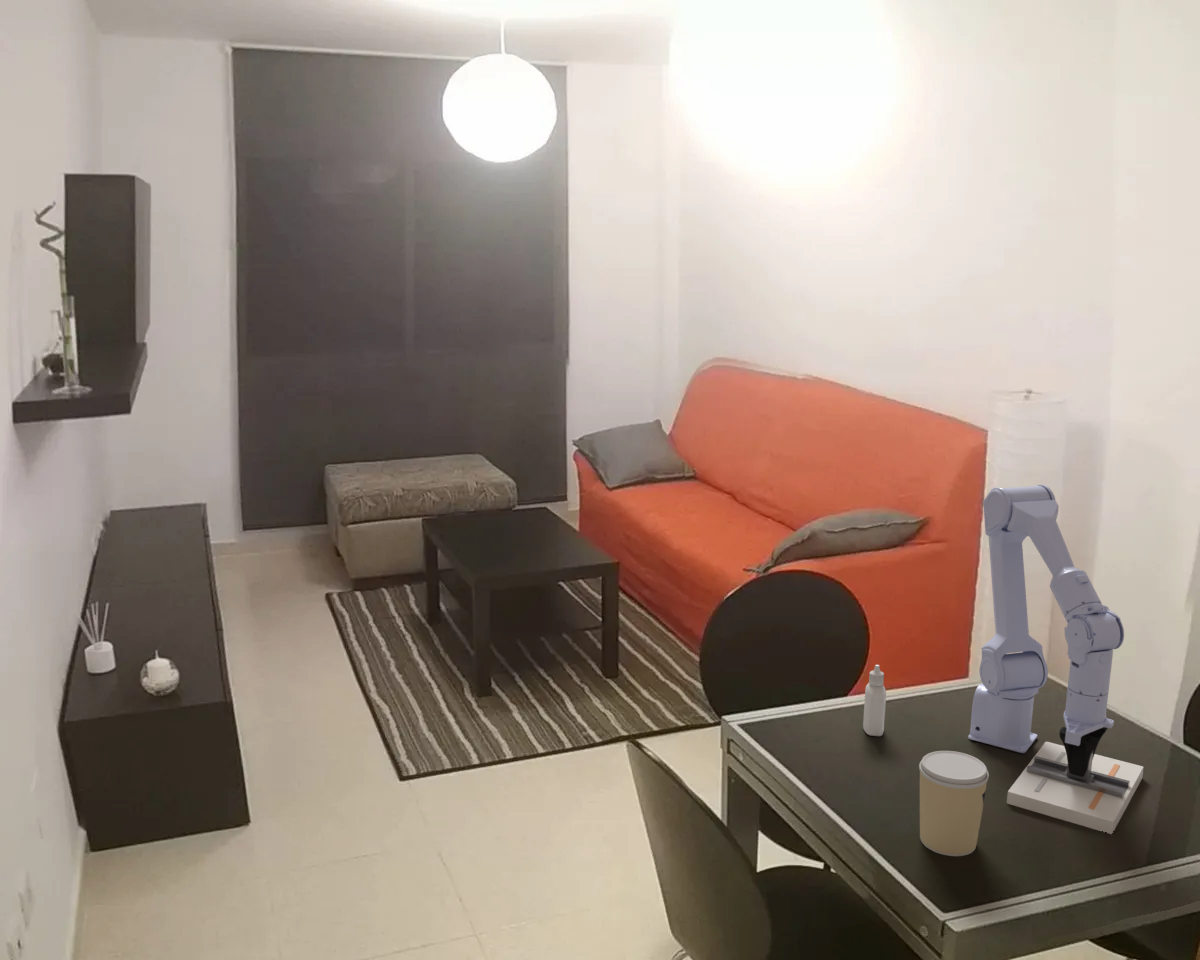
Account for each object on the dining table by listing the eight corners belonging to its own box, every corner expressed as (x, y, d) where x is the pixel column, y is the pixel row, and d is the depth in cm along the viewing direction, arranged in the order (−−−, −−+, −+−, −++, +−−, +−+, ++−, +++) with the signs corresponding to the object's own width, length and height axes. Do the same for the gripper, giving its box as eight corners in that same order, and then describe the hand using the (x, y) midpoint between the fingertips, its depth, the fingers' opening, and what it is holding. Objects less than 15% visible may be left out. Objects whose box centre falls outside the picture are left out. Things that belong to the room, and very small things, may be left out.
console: (1006, 803, 171) (1008, 786, 171) (1044, 752, 188) (1046, 736, 187) (1112, 834, 163) (1114, 816, 162) (1142, 778, 179) (1144, 762, 178)
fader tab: (1062, 777, 175) (1066, 743, 173) (1066, 771, 177) (1070, 737, 175) (1089, 785, 172) (1093, 750, 171) (1093, 779, 174) (1097, 744, 173)
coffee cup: (996, 853, 157) (1003, 775, 155) (937, 864, 155) (943, 784, 152) (957, 820, 166) (963, 745, 164) (901, 829, 164) (906, 754, 161)
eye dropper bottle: (891, 727, 197) (895, 663, 194) (879, 739, 192) (883, 673, 190) (867, 721, 199) (871, 657, 197) (855, 732, 195) (858, 667, 192)
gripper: (1104, 711, 163) (1095, 797, 166) (1126, 680, 175) (1117, 760, 178) (1054, 699, 167) (1045, 783, 170) (1079, 669, 179) (1070, 748, 182)
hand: (1079, 770), depth 174 cm, fingers closed on fader tab, 2 cm apart
